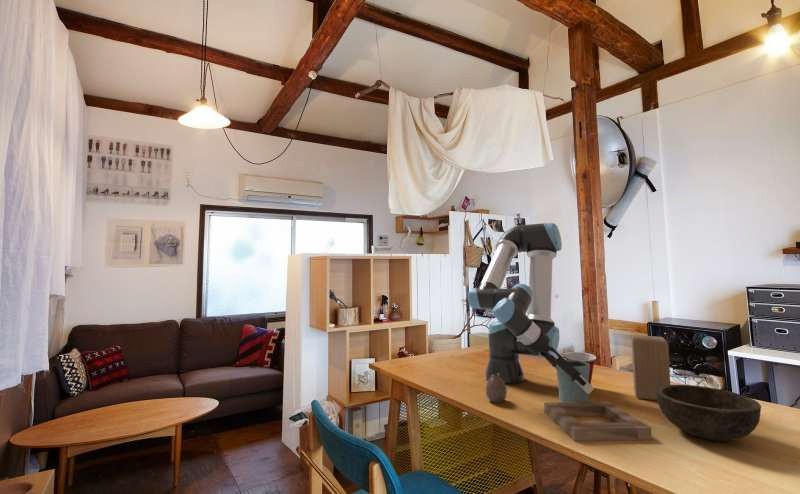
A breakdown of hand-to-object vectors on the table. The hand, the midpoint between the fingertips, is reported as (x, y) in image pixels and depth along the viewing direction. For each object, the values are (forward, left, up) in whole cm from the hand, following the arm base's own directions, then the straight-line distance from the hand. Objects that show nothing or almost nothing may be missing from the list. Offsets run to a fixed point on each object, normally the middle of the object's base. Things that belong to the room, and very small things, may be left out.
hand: (582, 386), depth 125 cm
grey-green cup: (0, -3, -5) cm, 6 cm away
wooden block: (-7, +27, -6) cm, 28 cm away
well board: (+16, -5, -6) cm, 18 cm away
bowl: (+24, +21, -6) cm, 32 cm away
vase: (-5, -27, -6) cm, 28 cm away
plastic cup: (-18, +8, -6) cm, 21 cm away
